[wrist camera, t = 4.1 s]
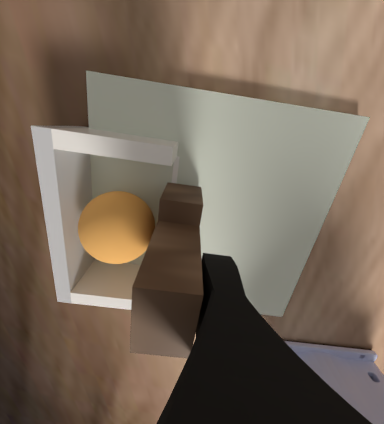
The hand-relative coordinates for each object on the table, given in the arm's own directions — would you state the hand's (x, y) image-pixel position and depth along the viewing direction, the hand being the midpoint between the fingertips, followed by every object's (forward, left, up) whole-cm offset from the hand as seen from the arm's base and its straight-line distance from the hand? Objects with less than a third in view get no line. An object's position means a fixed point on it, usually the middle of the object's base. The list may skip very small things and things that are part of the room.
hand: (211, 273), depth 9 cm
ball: (+5, 0, -3) cm, 6 cm away
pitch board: (0, 0, -6) cm, 6 cm away
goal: (+5, 0, -6) cm, 8 cm away
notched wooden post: (+2, 0, -5) cm, 5 cm away
